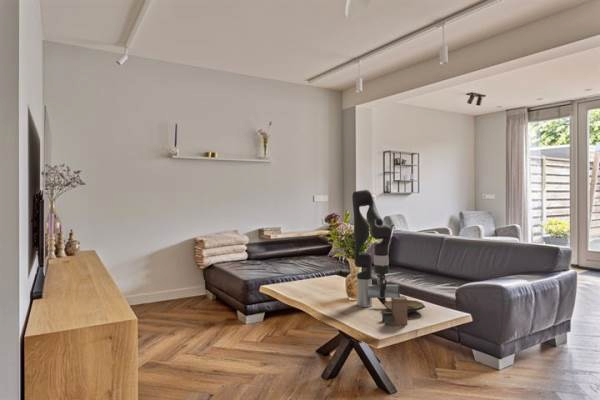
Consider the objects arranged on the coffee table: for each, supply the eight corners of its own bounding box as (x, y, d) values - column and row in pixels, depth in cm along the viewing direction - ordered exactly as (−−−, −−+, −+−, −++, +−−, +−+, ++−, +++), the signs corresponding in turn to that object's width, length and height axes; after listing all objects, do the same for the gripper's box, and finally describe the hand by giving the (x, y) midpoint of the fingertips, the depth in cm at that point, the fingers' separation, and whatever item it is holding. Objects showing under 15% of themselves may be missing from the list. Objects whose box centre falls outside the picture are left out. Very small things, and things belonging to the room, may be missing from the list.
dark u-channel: (382, 320, 219) (382, 295, 219) (403, 320, 219) (403, 295, 219) (385, 325, 211) (384, 299, 211) (407, 325, 211) (407, 299, 211)
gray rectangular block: (367, 296, 209) (367, 284, 209) (398, 295, 208) (398, 284, 208) (368, 297, 205) (368, 286, 205) (399, 297, 205) (399, 286, 205)
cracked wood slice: (405, 320, 218) (405, 307, 218) (369, 307, 244) (369, 295, 244) (433, 314, 230) (433, 301, 229) (396, 302, 255) (396, 290, 255)
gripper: (371, 261, 213) (372, 292, 214) (376, 266, 199) (376, 300, 200) (385, 260, 213) (386, 292, 214) (391, 266, 199) (391, 299, 200)
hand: (381, 295), depth 207 cm, fingers closed on gray rectangular block, 3 cm apart
